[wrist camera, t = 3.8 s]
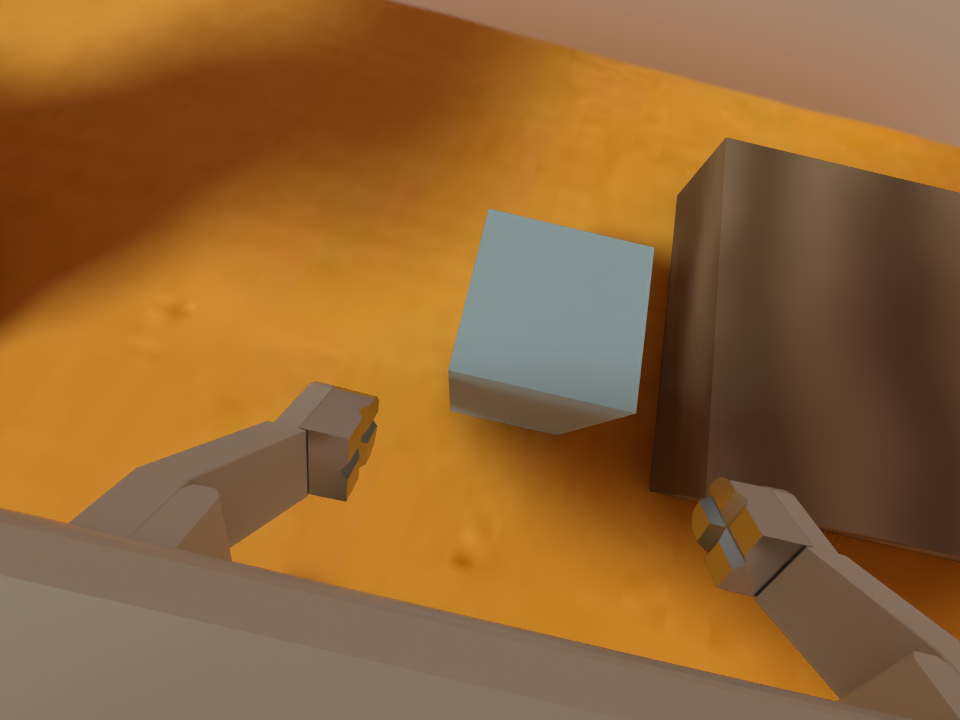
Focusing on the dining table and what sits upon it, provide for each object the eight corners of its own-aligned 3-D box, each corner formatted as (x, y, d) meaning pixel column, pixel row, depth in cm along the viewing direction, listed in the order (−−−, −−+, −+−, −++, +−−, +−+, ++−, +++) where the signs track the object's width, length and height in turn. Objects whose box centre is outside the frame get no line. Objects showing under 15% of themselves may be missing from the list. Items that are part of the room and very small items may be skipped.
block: (450, 410, 18) (448, 370, 10) (474, 311, 19) (488, 208, 11) (556, 435, 18) (636, 413, 10) (572, 334, 19) (654, 247, 11)
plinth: (649, 491, 17) (705, 498, 14) (677, 195, 22) (725, 137, 18) (993, 569, 18) (1146, 599, 14) (953, 260, 22) (1061, 216, 18)
